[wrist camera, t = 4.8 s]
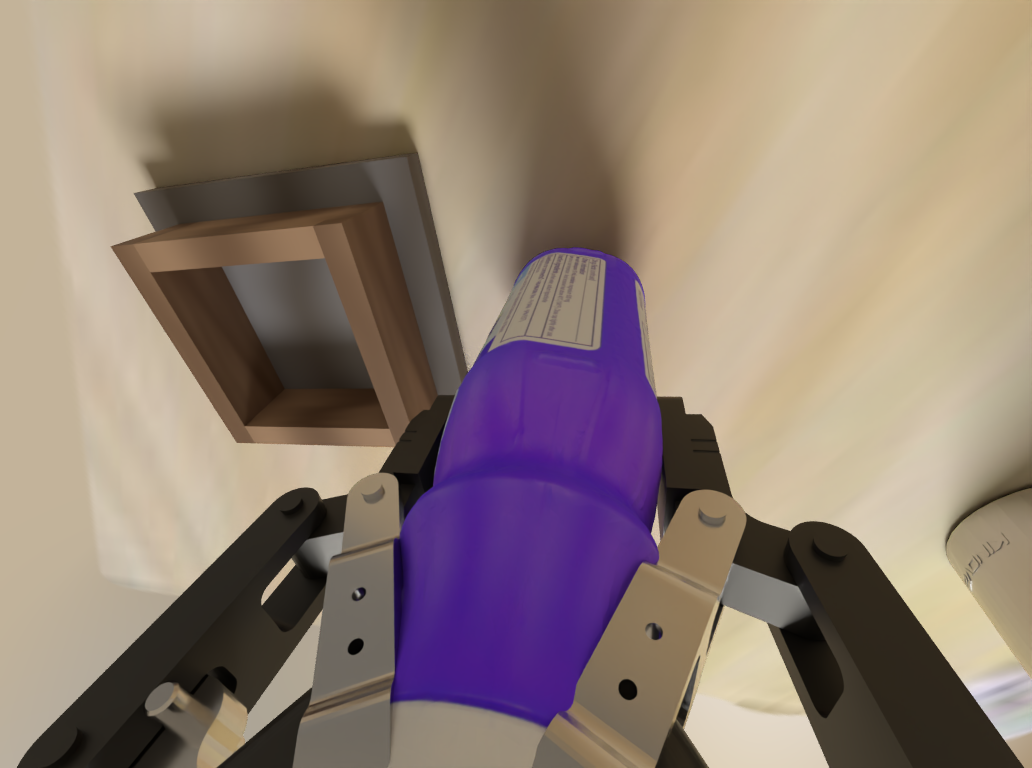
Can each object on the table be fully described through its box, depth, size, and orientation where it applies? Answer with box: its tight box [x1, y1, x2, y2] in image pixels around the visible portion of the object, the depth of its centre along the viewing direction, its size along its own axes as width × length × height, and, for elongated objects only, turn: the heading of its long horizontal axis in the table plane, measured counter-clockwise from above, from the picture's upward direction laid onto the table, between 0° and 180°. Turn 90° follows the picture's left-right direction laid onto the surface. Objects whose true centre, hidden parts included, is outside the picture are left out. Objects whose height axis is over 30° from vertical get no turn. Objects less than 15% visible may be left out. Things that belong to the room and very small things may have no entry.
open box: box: [111, 153, 468, 447], centre depth 22 cm, size 14×14×5 cm
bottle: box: [388, 247, 663, 768], centre depth 13 cm, size 7×6×17 cm
